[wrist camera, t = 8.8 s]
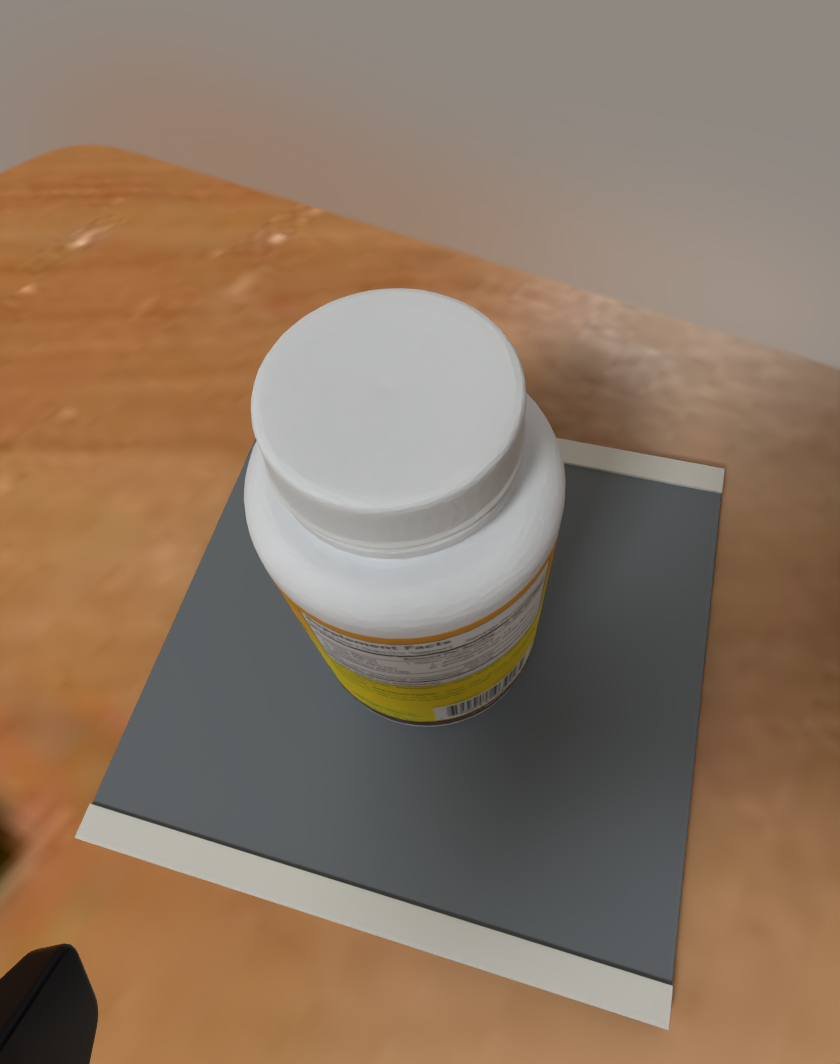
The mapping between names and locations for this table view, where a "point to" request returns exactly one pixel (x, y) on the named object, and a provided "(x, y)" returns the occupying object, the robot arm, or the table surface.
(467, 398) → the supplement bottle
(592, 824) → the mat
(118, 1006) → the table surface
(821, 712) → the table surface
